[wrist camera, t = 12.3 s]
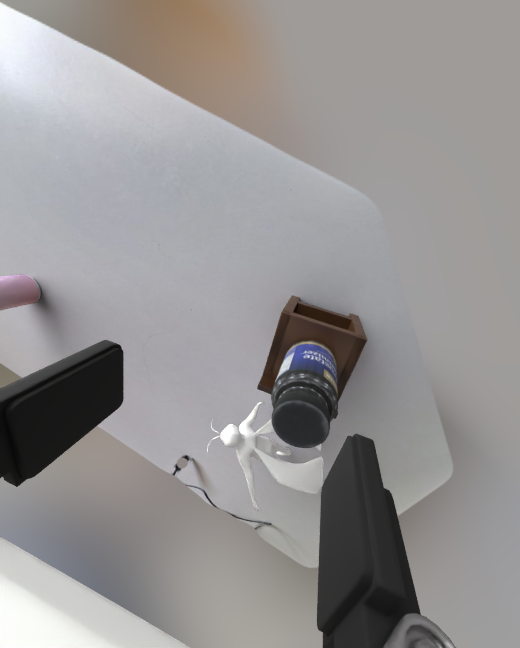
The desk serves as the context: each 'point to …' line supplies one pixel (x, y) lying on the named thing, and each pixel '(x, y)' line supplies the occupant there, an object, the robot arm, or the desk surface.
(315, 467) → the figurine
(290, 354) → the pill bottle
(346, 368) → the shelf
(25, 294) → the beverage can
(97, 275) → the desk surface
